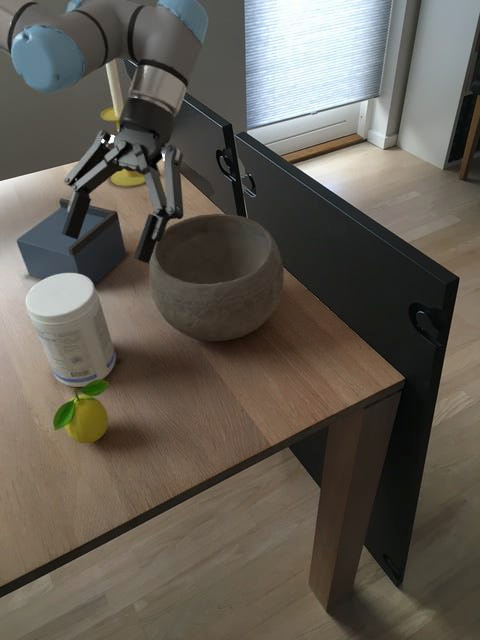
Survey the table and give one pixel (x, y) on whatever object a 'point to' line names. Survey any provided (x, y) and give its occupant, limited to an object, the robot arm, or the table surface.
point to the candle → (113, 115)
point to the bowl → (216, 276)
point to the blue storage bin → (73, 245)
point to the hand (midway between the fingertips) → (104, 248)
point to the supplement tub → (71, 328)
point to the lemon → (84, 414)
